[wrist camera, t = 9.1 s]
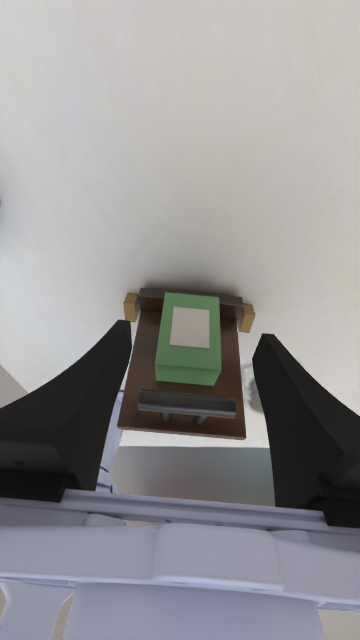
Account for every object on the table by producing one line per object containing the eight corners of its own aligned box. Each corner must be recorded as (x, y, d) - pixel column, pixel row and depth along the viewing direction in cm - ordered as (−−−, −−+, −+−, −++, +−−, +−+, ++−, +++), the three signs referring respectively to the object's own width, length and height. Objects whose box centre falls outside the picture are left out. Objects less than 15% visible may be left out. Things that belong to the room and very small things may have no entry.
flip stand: (243, 440, 17) (268, 426, 13) (118, 429, 17) (104, 411, 13) (233, 316, 23) (248, 281, 19) (142, 308, 23) (138, 270, 19)
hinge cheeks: (246, 322, 24) (249, 333, 23) (128, 311, 24) (125, 321, 23) (252, 304, 23) (255, 315, 21) (127, 293, 22) (123, 302, 21)
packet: (213, 386, 18) (222, 369, 16) (155, 380, 18) (154, 363, 16) (212, 318, 22) (219, 296, 19) (164, 313, 22) (165, 291, 19)
